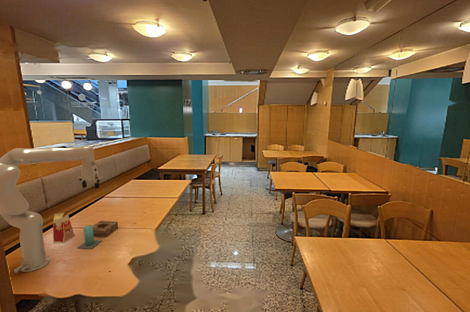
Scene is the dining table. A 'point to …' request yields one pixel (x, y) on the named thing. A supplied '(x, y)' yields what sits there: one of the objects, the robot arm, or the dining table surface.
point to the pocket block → (104, 228)
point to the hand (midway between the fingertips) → (90, 187)
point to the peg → (88, 235)
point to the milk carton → (62, 228)
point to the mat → (90, 245)
